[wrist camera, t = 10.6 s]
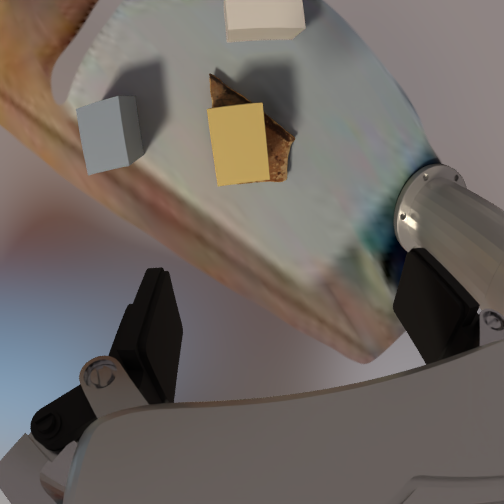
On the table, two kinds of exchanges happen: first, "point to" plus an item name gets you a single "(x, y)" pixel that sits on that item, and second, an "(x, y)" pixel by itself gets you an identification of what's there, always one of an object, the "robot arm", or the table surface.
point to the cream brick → (263, 19)
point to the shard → (275, 134)
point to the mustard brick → (239, 143)
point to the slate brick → (110, 133)
